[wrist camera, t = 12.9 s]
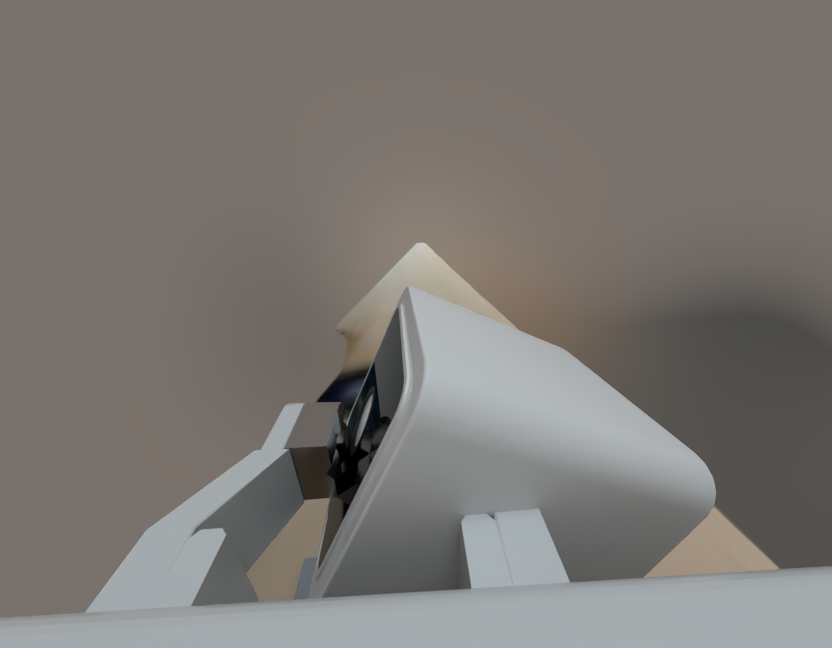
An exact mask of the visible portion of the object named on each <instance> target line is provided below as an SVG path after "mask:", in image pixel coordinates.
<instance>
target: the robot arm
mask: <svg viewBox="0 0 832 648" xmlns="http://www.w3.org/2000/svg"><path fill="white" fill-rule="evenodd" d="M344 415H345V411H344V406H343V404H342V403H341V402H325V403H298V404H297V403H295V404H294V403H293V404H287V405H286V406H285V407H284V408H283V410H282V412H281V414H280V415H279V417H278V419H277V421H276V423H275V425H274V426H273V428H272V430H271V432H270V434H269V436H268V438H267V439H266V441H265V443H264V445H263V447H262V449H261V450H257V451H254V452H252V453H251V454H249V455H248V456H247V457H245V458H244V459H243V460H241V461H240V462H239V463H237V464H236V465H235V466H233V467H232V468H230V469H229V470H228V471H226V472H225V473H224V474H222V475H221V476H219V477H218V478H217V479H215V480H214V481H213V482H211V483H210V484H209V485H207V486H206V487H205V488H203V489H202V490H201V491H199V492H198V493H197V494H195V495H194V496H192V497H191V498H190V499H188V500H187V501H185V502H184V503H183V504H181V505H180V506H179V507H177V508H176V509H175V510H173V511H172V512H171V513H169V514H168V515H166V516H165V517H164V518H162V519H161V520H160V521H158V522H157V523H156V524H154V525H153V526H152V527H150V528H149V529H147V530H146V532H145V533H144V534H143V536H142V537H141V538H140V540H139V541H138V542H137V544H136V545H135V546H134V548H133V549H132V550H131V552H130V553H129V554H128V556H127V557H126V558H125V560H124V561H123V562H122V564H121V565H120V567H119V568H118V569H117V570H116V572H115V573H114V574H113V576H112V577H111V579H110V580H109V581H108V583H107V584H106V585H105V586H104V588H103V589H102V590H101V592H100V593H99V594H98V596H97V597H96V599H95V600H94V601H93V603H92V604H91V605H90V607H89V608H88V609H87V611H86V612H85V613H73V614H56V615H40V616H23V617H7V618H0V648H832V566H827V567H811V568H796V569H795V568H794V569H778V570H762V571H746V572H730V573H714V574H697V575H681V576H665V577H649V578H633V579H617V580H601V581H584V582H570V581H569V578H568V576H567V574H566V571H565V569H564V567H563V564H562V562H561V559H560V557H559V555H558V552H557V550H556V548H555V545H554V543H553V540H552V538H551V536H550V533H549V531H548V529H547V526H546V524H545V521H544V519H543V517H542V514H541V512H540V510H539V509H528V510H517V511H506V512H495V513H494V516H493V518H491V517H490V516H489V515H487V514H479V515H467V516H465V517H464V518H463V520H462V521H461V530H460V543H459V555H458V572H457V589H455V590H439V591H423V592H407V593H391V594H374V595H358V596H342V597H326V598H310V599H294V600H278V601H262V602H258V597H257V594H256V592H255V590H254V588H253V586H252V584H251V582H250V580H249V578H248V576H247V574H246V573H247V571H248V570H249V569H250V568H251V566H252V565H253V564H254V563H255V562H256V560H257V559H258V558H259V557H260V555H261V554H262V553H263V552H264V551H265V549H266V548H267V547H268V546H269V545H270V543H271V542H272V541H273V540H274V538H275V537H276V536H277V535H278V534H279V532H280V531H281V530H282V529H283V527H284V526H285V525H286V524H287V523H288V521H289V520H290V519H291V518H292V517H293V515H294V514H295V513H296V512H297V510H298V509H299V508H300V507H301V506H302V504H303V503H304V500H310V499H322V498H334V497H337V496H338V492H339V487H340V482H341V477H342V467H341V464H342V463H343V462H344V461H345V458H346V453H347V448H348V430H347V425H346V424H345V423H344V422H343V419H344Z"/></svg>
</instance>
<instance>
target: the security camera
mask: <svg viewBox="0 0 832 648" xmlns="http://www.w3.org/2000/svg"><path fill="white" fill-rule="evenodd" d="M346 425H347V430H348V448H347V453H346V458H345V461H344V462H343V463H342V464H341V467H342V477H341V482H340V487H339V492H338V496H337V497H334V498H330V499H329V504H328V509H327V513H326V518H325V523H324V527H323V532H322V536H321V541H320V546H319V550H318V555H317V560H316V564H315V569H314V574H313V578H312V583H311V587H310V592H309V598H308V599H310V598H326V597H342V596H358V595H374V594H391V593H407V592H423V591H439V590H455V589H457V572H458V555H459V543H460V530H461V521H462V520H463V518H464V517H465V516H467V515H479V514H487V515H489V516H490V517H491V518H493V516H494V513H495V512H506V511H517V510H528V509H539V510H540V512H541V514H542V517H543V519H544V521H545V524H546V526H547V529H548V531H549V533H550V536H551V538H552V540H553V543H554V545H555V548H556V550H557V552H558V555H559V557H560V559H561V562H562V564H563V567H564V569H565V571H566V574H567V576H568V578H569V581H570V582H584V581H601V580H617V579H633V578H643V577H644V576H645V575H646V574H647V573H649V572H650V571H651V570H652V569H653V568H654V567H655V566H656V565H657V564H658V563H659V562H660V561H661V560H662V559H663V558H664V557H665V556H666V555H667V554H668V553H669V552H670V551H672V550H673V549H674V548H675V547H676V546H677V545H678V544H679V543H680V542H681V541H682V540H683V539H684V538H685V537H686V536H687V535H688V534H689V533H690V532H691V531H692V530H694V529H695V528H696V527H697V526H698V525H699V524H700V523H701V522H702V521H703V520H704V519H705V518H706V517H707V516H708V514H709V513H710V511H711V510H712V508H713V507H714V502H715V496H716V490H715V485H714V480H713V477H712V475H711V473H710V471H709V470H708V468H707V466H706V464H705V463H704V462H703V461H702V460H701V459H700V458H699V457H698V456H697V455H696V454H695V453H694V452H693V451H692V450H690V449H689V448H688V447H686V446H685V445H684V444H683V443H681V442H680V441H679V440H678V439H676V438H675V437H674V436H673V435H671V434H670V433H669V432H668V431H666V430H665V429H664V428H663V427H661V426H660V425H659V424H657V423H656V422H655V421H654V420H652V419H651V418H650V417H649V416H648V415H646V414H645V413H644V412H642V411H641V410H640V409H639V408H637V407H636V406H635V405H634V404H632V403H631V402H630V401H629V400H627V399H626V398H625V397H623V396H622V395H621V394H620V393H618V392H617V391H616V390H615V389H614V388H612V387H611V386H610V385H609V384H607V383H606V382H605V381H604V380H602V379H601V378H600V377H599V376H597V375H596V374H595V373H594V372H592V371H591V370H590V369H589V368H587V367H586V366H585V365H583V364H582V363H581V362H580V361H578V360H577V359H576V358H575V357H573V356H572V355H571V354H570V353H568V352H567V351H566V350H564V349H562V348H560V347H558V346H555V345H552V344H550V343H548V342H545V341H543V340H540V339H538V338H536V337H533V336H531V335H528V334H526V333H524V332H521V331H519V330H516V329H514V328H511V327H509V326H507V325H504V324H502V323H499V322H497V321H495V320H492V319H490V318H487V317H485V316H482V315H480V314H478V313H475V312H473V311H470V310H468V309H465V308H463V307H461V306H458V305H456V304H453V303H451V302H448V301H446V300H444V299H441V298H439V297H436V296H434V295H431V294H429V293H427V292H424V291H422V290H419V289H417V288H414V287H412V286H407V287H406V288H405V290H404V291H403V293H402V295H401V297H400V299H399V302H398V304H397V306H396V309H395V311H394V313H393V316H392V318H391V320H390V323H389V325H388V327H387V329H386V332H385V334H384V336H383V339H382V341H381V343H380V346H379V348H378V350H377V353H376V355H375V357H374V360H373V362H372V364H371V367H370V369H369V371H368V374H367V376H366V378H365V380H364V383H363V385H362V387H361V390H360V392H359V394H358V397H357V399H356V401H355V404H354V406H353V408H352V411H351V413H350V416H349V418H348V421H347V424H346Z"/></svg>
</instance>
